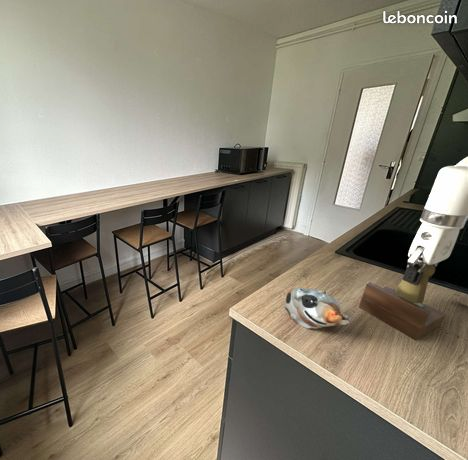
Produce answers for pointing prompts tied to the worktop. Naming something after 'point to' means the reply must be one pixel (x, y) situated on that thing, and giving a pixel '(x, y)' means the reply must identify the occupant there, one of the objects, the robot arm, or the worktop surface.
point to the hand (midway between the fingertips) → (416, 279)
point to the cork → (415, 286)
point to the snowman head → (314, 308)
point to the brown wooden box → (400, 311)
